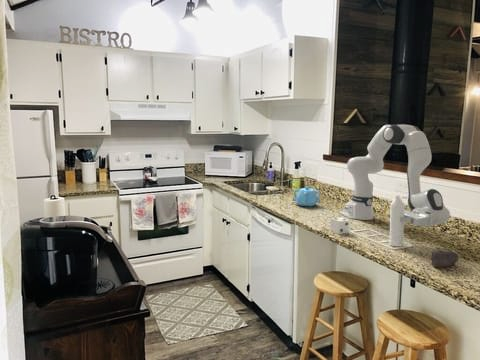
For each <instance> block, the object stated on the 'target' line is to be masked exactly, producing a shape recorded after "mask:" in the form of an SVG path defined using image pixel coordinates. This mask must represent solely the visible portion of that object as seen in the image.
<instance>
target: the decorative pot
mask: <svg viewBox="0 0 480 360" xmlns="http://www.w3.org/2000/svg"><path fill="white" fill-rule="evenodd" d="M297 191H298V192H297ZM296 192H297V194H296ZM317 194H318V196H317ZM293 195H294V197H293V198H292V200H293V201H294V202H296V204H297V205H298V206H299V207H303V206H304V207H308V208H312V207H313V206H315V205H317V204H318V203H321V199H320V196H321V192H320V191H319V190H315V189H313V188H310V186H304V187H302V188H299V189H298V188H296V189H295V190H294V191H293Z"/></svg>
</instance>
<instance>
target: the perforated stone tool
mask: <svg viewBox="0 0 480 360" xmlns="http://www.w3.org/2000/svg"><path fill="white" fill-rule="evenodd" d="M458 260H459V254H458V253H456V252H454V251H451V250H434V251H431V255H430V261H431V265H432V267H434V268H445V267H446V268H447V267H449V266H453V265H455V264H456V263H457V262H458Z"/></svg>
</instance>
